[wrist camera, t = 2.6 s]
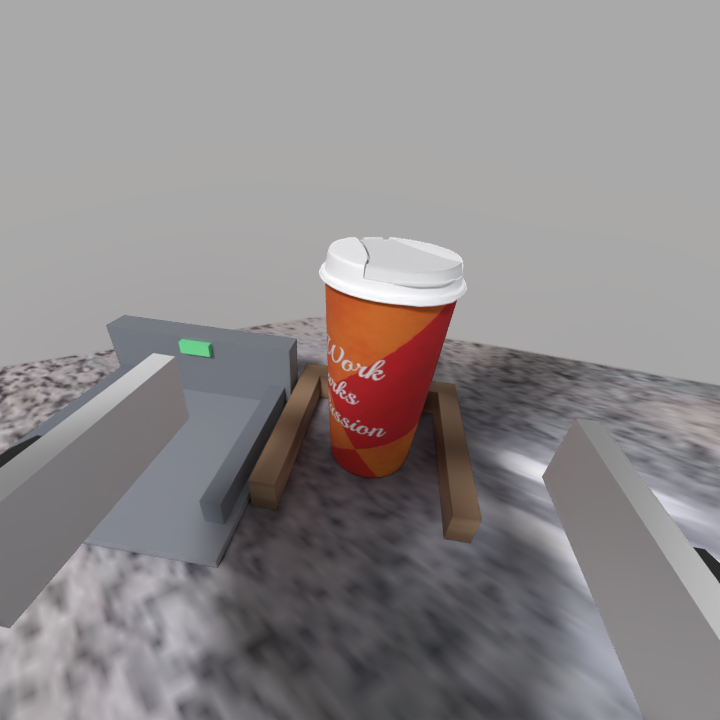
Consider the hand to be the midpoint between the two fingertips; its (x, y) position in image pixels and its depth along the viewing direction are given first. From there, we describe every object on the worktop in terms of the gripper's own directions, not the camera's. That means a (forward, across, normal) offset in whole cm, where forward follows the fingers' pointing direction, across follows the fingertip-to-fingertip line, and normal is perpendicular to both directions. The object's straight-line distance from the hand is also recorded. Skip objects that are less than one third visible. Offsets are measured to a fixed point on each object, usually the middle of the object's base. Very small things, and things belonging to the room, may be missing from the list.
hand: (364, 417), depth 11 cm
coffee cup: (+10, 0, -12) cm, 15 cm away
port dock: (+7, -14, -12) cm, 20 cm away
